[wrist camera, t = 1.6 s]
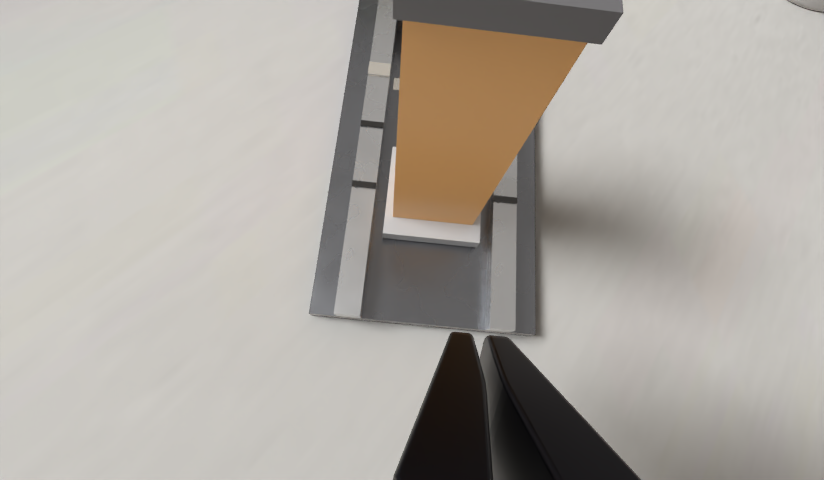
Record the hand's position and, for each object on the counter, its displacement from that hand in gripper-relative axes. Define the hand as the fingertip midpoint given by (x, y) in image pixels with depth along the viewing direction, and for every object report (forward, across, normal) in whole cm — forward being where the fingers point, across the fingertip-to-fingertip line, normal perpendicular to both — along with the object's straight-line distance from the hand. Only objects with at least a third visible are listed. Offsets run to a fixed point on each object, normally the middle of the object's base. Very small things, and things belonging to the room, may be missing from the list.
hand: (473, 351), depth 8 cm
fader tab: (+15, 0, +3) cm, 15 cm away
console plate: (+17, 0, +1) cm, 17 cm away
